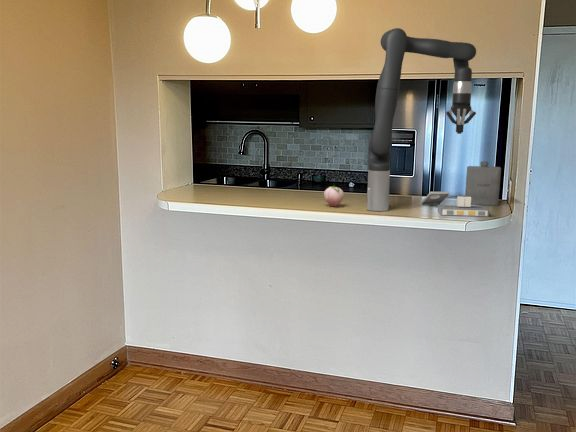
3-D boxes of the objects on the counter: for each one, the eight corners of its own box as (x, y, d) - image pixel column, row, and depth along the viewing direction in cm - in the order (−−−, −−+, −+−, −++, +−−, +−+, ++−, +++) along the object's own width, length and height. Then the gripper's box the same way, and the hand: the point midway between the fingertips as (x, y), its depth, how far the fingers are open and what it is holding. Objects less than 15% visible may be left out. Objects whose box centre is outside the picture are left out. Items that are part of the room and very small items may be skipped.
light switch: (438, 200, 263) (449, 189, 249) (440, 212, 261) (450, 202, 247) (420, 200, 263) (430, 189, 249) (421, 212, 261) (431, 202, 247)
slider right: (464, 206, 235) (465, 196, 235) (462, 205, 239) (463, 195, 238) (470, 206, 235) (471, 196, 234) (469, 205, 238) (469, 195, 238)
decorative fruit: (347, 207, 251) (348, 185, 249) (332, 208, 247) (332, 186, 245) (335, 204, 259) (336, 182, 258) (320, 205, 255) (321, 183, 254)
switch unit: (441, 215, 234) (441, 208, 233) (437, 211, 243) (437, 204, 243) (488, 217, 232) (489, 209, 231) (483, 212, 241) (483, 205, 241)
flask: (465, 204, 263) (468, 161, 260) (464, 202, 269) (467, 160, 265) (499, 206, 260) (502, 162, 257) (497, 204, 266) (500, 161, 262)
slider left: (458, 206, 236) (458, 196, 235) (456, 205, 239) (457, 195, 238) (464, 206, 235) (465, 196, 235) (462, 205, 239) (463, 195, 238)
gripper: (447, 92, 239) (445, 133, 242) (479, 92, 237) (476, 134, 240) (444, 92, 246) (442, 133, 249) (476, 93, 245) (473, 133, 248)
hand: (459, 133), depth 245 cm, fingers closed
